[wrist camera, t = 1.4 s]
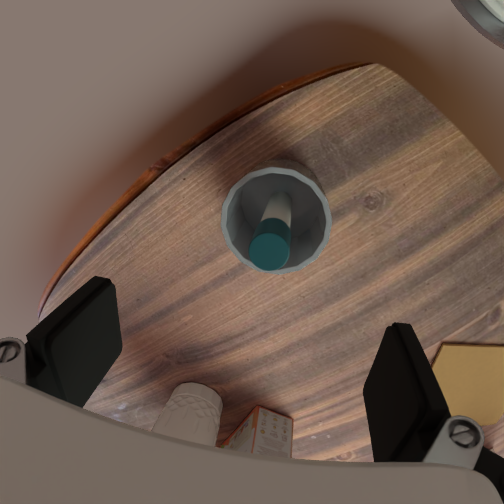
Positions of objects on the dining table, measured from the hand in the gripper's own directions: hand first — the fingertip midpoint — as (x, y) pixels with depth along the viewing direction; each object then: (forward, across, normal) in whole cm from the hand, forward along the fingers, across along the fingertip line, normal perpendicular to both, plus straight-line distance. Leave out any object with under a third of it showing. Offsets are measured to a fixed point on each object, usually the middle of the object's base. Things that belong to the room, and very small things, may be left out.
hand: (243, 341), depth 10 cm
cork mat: (+20, -31, +21) cm, 42 cm away
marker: (+20, 0, 0) cm, 20 cm away
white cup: (+20, +7, +27) cm, 34 cm away
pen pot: (+20, 0, 0) cm, 20 cm away
